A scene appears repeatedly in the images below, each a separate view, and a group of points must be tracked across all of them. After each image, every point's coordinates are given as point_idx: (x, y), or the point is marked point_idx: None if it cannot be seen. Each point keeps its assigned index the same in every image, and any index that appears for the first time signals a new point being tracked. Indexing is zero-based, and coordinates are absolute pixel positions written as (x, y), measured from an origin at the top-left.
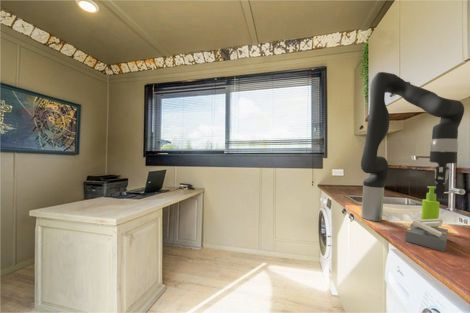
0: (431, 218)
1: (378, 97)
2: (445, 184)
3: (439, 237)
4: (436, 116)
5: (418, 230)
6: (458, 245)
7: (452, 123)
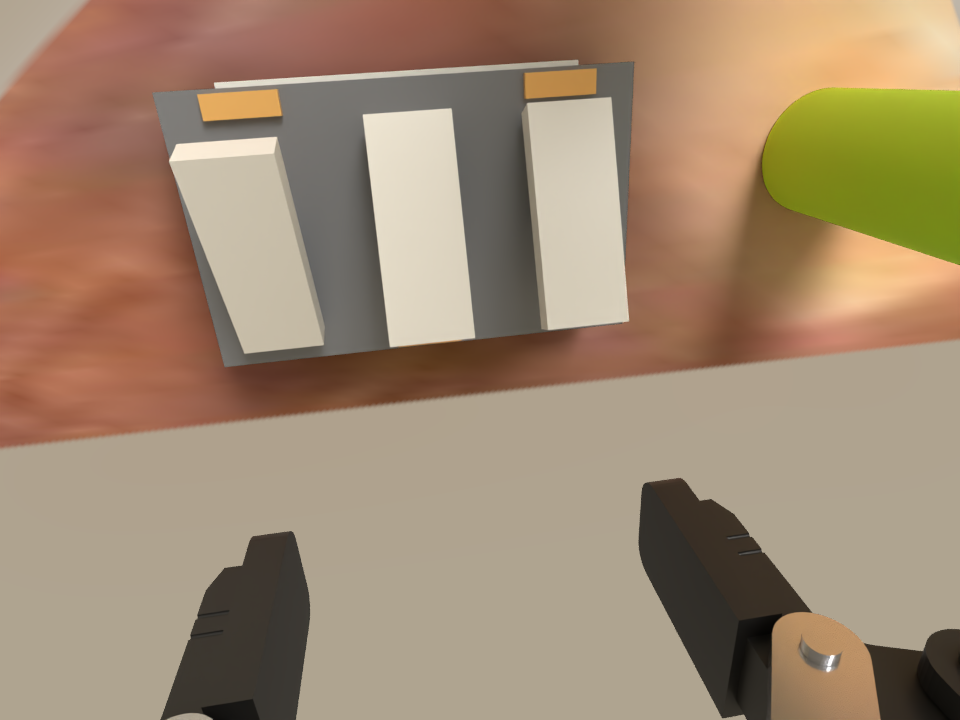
0: (835, 190)
1: None
2: (707, 688)
3: None
4: None
5: (316, 173)
6: (497, 362)
7: None
